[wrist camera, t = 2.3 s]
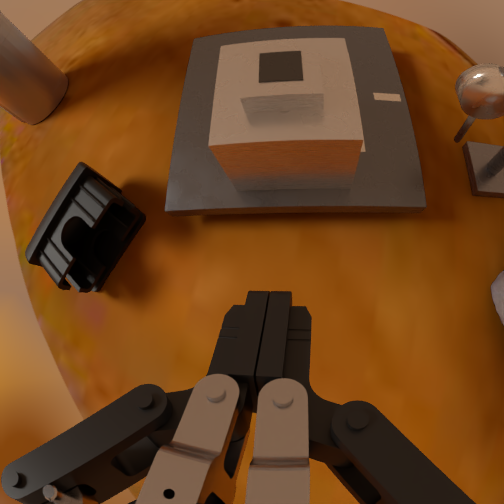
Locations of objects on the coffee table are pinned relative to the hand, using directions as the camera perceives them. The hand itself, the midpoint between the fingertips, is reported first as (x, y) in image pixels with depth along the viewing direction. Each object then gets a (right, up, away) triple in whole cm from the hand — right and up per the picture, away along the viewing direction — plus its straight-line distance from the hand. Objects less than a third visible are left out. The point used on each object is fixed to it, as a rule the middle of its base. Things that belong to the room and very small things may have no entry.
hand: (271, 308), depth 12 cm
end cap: (-16, +4, +18) cm, 24 cm away
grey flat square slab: (+3, +15, +15) cm, 21 cm away
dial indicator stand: (+19, +10, +12) cm, 25 cm away
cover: (+2, +11, +12) cm, 16 cm away
